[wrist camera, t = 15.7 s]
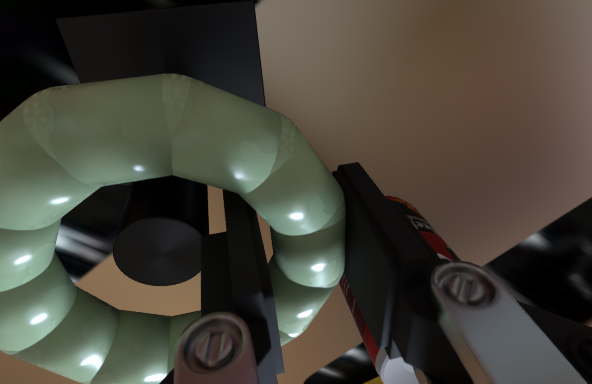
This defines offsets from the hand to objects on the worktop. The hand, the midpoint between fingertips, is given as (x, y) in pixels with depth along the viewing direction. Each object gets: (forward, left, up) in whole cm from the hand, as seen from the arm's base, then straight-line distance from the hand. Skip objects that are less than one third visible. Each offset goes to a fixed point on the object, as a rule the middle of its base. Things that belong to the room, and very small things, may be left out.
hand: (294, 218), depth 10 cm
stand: (-4, 0, -13) cm, 13 cm away
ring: (-3, 0, +1) cm, 4 cm away
